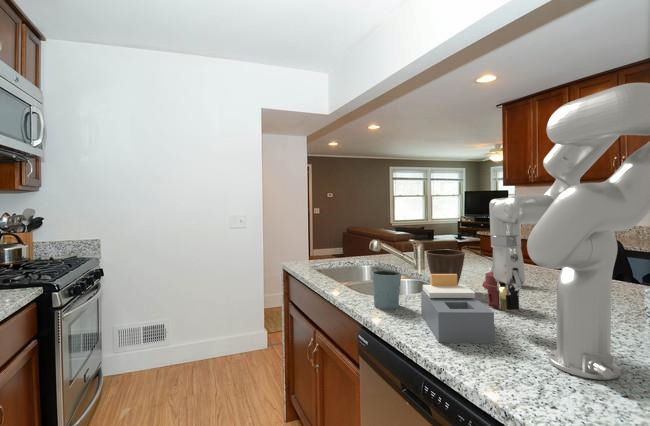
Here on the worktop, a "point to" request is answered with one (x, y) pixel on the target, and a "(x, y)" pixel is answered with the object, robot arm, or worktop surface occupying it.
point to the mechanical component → (492, 289)
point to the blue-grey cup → (386, 289)
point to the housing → (458, 319)
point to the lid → (447, 287)
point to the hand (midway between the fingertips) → (508, 306)
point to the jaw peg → (503, 297)
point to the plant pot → (445, 262)
